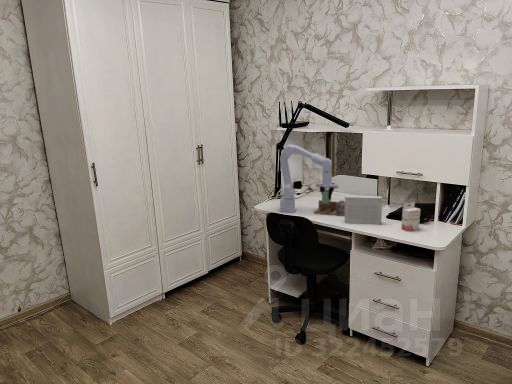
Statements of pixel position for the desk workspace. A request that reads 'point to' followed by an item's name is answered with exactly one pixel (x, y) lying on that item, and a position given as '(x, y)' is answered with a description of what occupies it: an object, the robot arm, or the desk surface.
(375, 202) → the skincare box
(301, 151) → the robot arm
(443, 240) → the desk surface
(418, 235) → the desk surface
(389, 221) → the desk surface
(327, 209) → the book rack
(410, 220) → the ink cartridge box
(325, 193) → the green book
